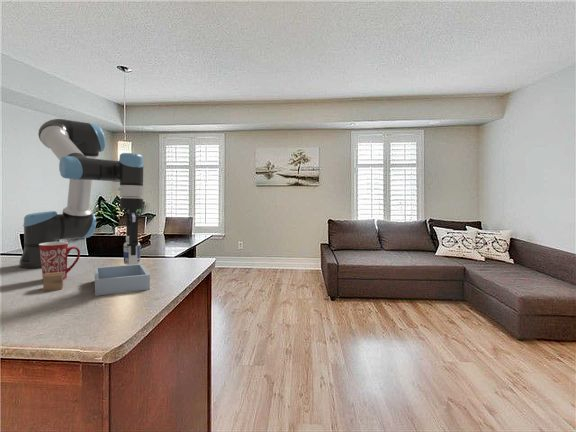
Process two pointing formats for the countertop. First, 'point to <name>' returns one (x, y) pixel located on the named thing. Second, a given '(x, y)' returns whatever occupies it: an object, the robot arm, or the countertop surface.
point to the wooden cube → (53, 281)
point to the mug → (56, 257)
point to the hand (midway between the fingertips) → (132, 262)
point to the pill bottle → (126, 252)
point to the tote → (121, 279)
